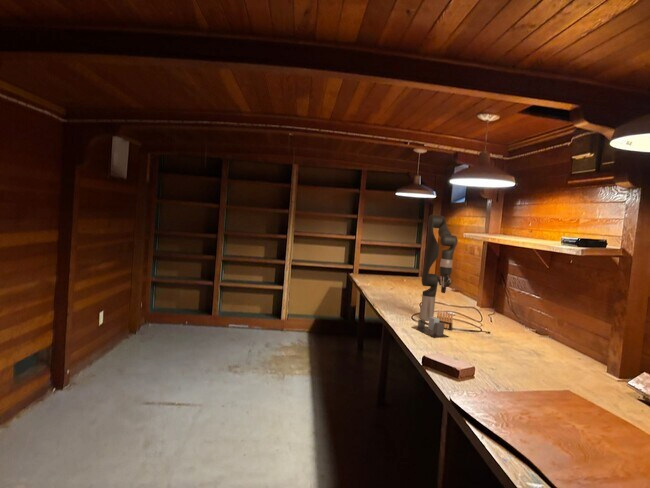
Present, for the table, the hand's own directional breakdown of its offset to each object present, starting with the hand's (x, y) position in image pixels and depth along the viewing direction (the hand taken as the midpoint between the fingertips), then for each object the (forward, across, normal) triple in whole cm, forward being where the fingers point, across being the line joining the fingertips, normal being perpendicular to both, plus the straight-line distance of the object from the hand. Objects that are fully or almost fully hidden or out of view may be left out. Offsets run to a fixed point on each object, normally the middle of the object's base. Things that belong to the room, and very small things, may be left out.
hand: (443, 292), depth 259 cm
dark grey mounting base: (+25, +2, -9) cm, 27 cm away
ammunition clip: (+25, -4, +7) cm, 26 cm away
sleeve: (+22, +6, -9) cm, 25 cm away
